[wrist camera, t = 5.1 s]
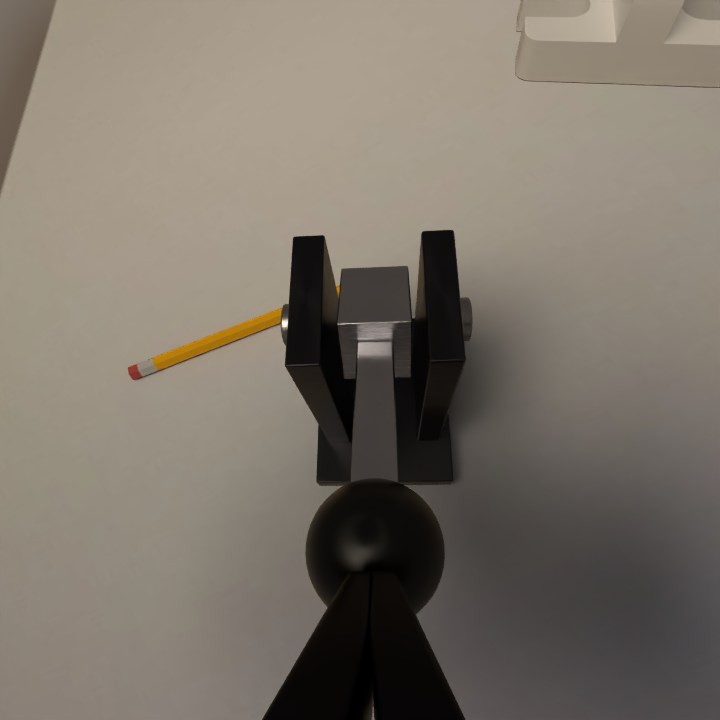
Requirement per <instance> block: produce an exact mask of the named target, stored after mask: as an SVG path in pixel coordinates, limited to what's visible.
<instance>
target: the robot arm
mask: <svg viewBox="0 0 720 720" xmlns="http://www.w3.org/2000/svg"><path fill="white" fill-rule="evenodd" d="M373 704H374V719H375V720H465V718H464V716H463V713H462V711H461V709H460V707H459V705H458V703H457V701H456V699H455V697H454V695H453V692H452V690H451V688H450V686H449V684H448V682H447V680H446V678H445V676H444V674H443V671H442V669H441V667H440V665H439V663H438V661H437V659H436V657H435V655H434V653H433V650H432V648H431V646H430V644H429V642H428V640H427V638H426V636H425V634H424V632H423V629H422V627H421V625H420V623H419V621H418V619H417V617H416V615H415V613H414V611H413V608H412V606H411V604H410V602H409V600H408V598H407V596H406V594H405V592H404V590H403V587H402V585H401V583H400V581H399V579H398V577H397V575H396V573H395V572H393V571H374V572H373V574H371V572H369V571H350V572H349V573H348V574H347V576H346V577H345V579H344V581H343V582H342V584H341V586H340V587H339V589H338V591H337V593H336V594H335V596H334V598H333V599H332V601H331V603H330V605H329V606H328V608H327V610H326V611H325V613H324V615H323V616H322V618H321V620H320V622H319V623H318V625H317V627H316V628H315V630H314V632H313V634H312V635H311V637H310V639H309V640H308V642H307V644H306V646H305V647H304V649H303V651H302V652H301V654H300V656H299V657H298V659H297V661H296V663H295V664H294V666H293V668H292V669H291V671H290V673H289V675H288V676H287V678H286V680H285V681H284V683H283V685H282V686H281V688H280V690H279V692H278V693H277V695H276V697H275V698H274V700H273V702H272V704H271V705H270V707H269V709H268V710H267V712H266V714H265V715H264V717H263V719H262V720H372V710H373Z"/></svg>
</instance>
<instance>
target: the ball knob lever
mask: <svg viewBox="0 0 720 720" xmlns="http://www.w3.org/2000/svg"><path fill="white" fill-rule="evenodd" d="M336 325H337V332H338V340H339V347H340V355H341V362H342V370H343V377H344V379H355V397H354V419H353V442H352V464H351V483H349V484H346V485H344V486H343V487H341V488H339V489H338V490H336V491H335V492H334V493H332V494H331V495H330V496H329V497H328V498H327V499H326V500H325V501H324V502H323V504H322V505H321V506H320V507H319V509H318V511H317V512H316V514H315V516H314V518H313V520H312V522H311V525H310V528H309V531H308V535H307V541H306V564H307V569H308V573H309V577H310V580H311V582H312V585H313V587H314V589H315V590H316V592H317V594H318V596H319V597H320V598H321V600H322V601H323V603H324V604H325V605H326V606H327V607H328V606H329V605H330V603H331V601H332V599H333V598H334V596H335V594H336V593H337V591H338V589H339V587H340V586H341V584H342V582H343V581H344V579H345V577H346V576H347V574H348V573H349V572H350V571H369V572H371V574H373V572H374V571H393V572H395V573H396V575H397V577H398V579H399V581H400V583H401V585H402V587H403V590H404V592H405V594H406V596H407V598H408V600H409V602H410V604H411V606H412V608H413V611H414V613H415V614H417V613H418V612H419V611H420V610H421V609H422V608H423V607H424V606H425V605H426V604H427V603H428V602H429V600H430V599H431V598H432V596H433V595H434V593H435V591H436V589H437V587H438V585H439V582H440V580H441V577H442V573H443V568H444V561H445V548H444V540H443V535H442V531H441V528H440V525H439V523H438V521H437V518H436V516H435V515H434V513H433V511H432V510H431V508H430V507H429V506H428V504H427V503H426V502H425V501H424V500H423V499H422V498H421V497H420V496H419V495H418V494H417V493H415V492H414V491H413V490H411V489H410V488H408V487H406V486H404V485H402V484H400V483H398V461H397V430H396V400H395V378H404V377H411V376H412V312H411V299H410V285H409V272H408V266H397V267H372V268H348V269H342V270H341V280H340V290H339V301H338V312H337V323H336Z"/></svg>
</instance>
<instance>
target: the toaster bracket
mask: <svg viewBox="0 0 720 720" xmlns="http://www.w3.org/2000/svg"><path fill="white" fill-rule="evenodd" d="M338 301H339V298H338V294H337V289H336V285H335V280H334V276H333V272H332V267H331V263H330V258H329V254H328V249H327V245H326V240H325V237H324V236H323V235H321V236H299V237H293V248H292V263H291V279H290V295H289V304H285V305H283V308H282V312H281V333H282V338H283V342H284V344H285V345H286V358H285V367H286V368H287V370H288V372H289V374H290V375H291V377H292V379H293V381H294V382H295V384H296V386H297V388H298V389H299V391H300V393H301V394H302V396H303V398H304V400H305V401H306V403H307V405H308V407H309V408H310V410H311V412H312V414H313V415H314V417H315V419H316V420H317V422H318V454H317V483H318V484H319V485H320V486H344V485H346V484H349V483H351V464H352V442H353V419H354V397H355V379H344V377H343V370H342V362H341V355H340V347H339V340H338V332H337V325H336V323H337V312H338ZM471 334H472V307H471V302H470V299H469V298H467V297H465V298H460V291H459V280H458V269H457V259H456V248H455V237H454V231H453V230H440V231H423V232H422V234H421V246H420V260H419V274H418V288H417V302H416V315H415V319H412V376H411V377H404V378H395V400H396V430H397V461H398V483H400V484H402V485H444V484H451V483H452V482H453V469H452V455H451V442H450V428H449V415H448V411H449V408H450V405H451V402H452V399H453V396H454V393H455V390H456V387H457V384H458V381H459V378H460V376H461V373H462V370H463V367H464V364H465V361H466V356H465V346H464V341H469V340H470V338H471Z"/></svg>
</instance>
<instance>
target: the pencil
mask: <svg viewBox="0 0 720 720" xmlns="http://www.w3.org/2000/svg"><path fill="white" fill-rule="evenodd" d="M336 289H337V294H338V298H339V290H340V286H337V287H336ZM281 312H282V308H280V309H278V310H275V311H272V312H270V313H267V314H265V315H262V316H260V317H257V318H254V319H252V320H249V321H247V322H244V323H242V324H239V325H236V326H234V327H231V328H229V329H226V330H223V331H221V332H218V333H216V334H213V335H211V336H208V337H205V338H203V339H200V340H198V341H195V342H193V343H190V344H187V345H185V346H182V347H180V348H177V349H175V350H172V351H169V352H167V353H164V354H162V355H159V356H157V357H154V358H151V359H149V360H146V361H144V362H141V363H139V364H136V365H133V366H131V367H128V372H129V375H130V376H131V378H132V379H133V380H135V379H138V378H140V377H143V376H146V375H148V374H151V373H153V372H156V371H158V370H161V369H163V368H166V367H169V366H171V365H174V364H176V363H179V362H181V361H184V360H186V359H189V358H192V357H194V356H197V355H199V354H202V353H204V352H207V351H209V350H212V349H215V348H217V347H220V346H222V345H225V344H227V343H230V342H232V341H235V340H238V339H240V338H243V337H245V336H248V335H250V334H253V333H255V332H258V331H261V330H263V329H266V328H268V327H271V326H273V325H276V324H279V323H281Z"/></svg>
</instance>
